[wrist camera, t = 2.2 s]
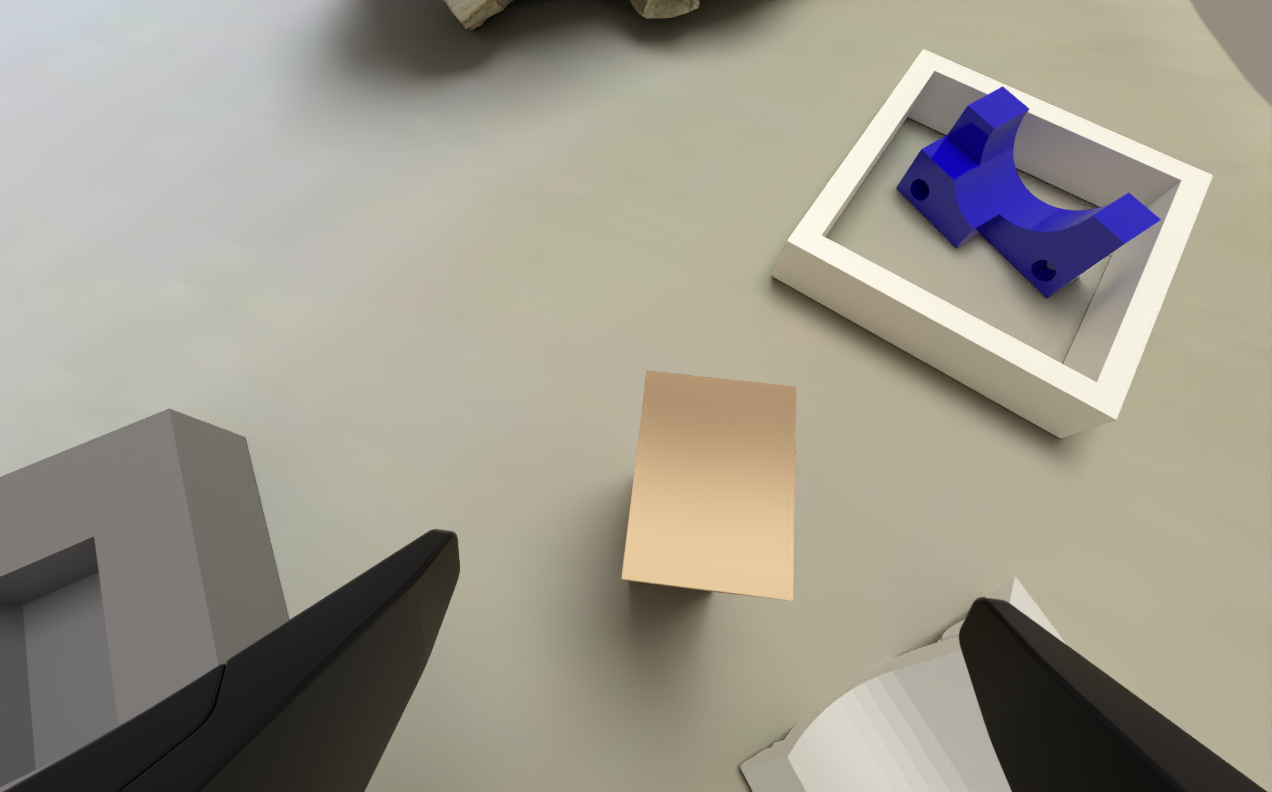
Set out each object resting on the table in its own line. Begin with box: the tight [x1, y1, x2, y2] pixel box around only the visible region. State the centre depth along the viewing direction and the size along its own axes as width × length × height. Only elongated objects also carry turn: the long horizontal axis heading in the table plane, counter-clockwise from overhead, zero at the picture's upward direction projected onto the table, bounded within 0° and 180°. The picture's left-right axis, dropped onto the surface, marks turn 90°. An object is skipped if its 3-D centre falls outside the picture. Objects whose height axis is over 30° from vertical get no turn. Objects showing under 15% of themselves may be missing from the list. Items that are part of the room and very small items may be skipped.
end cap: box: [0, 409, 289, 792], centre depth 16 cm, size 12×10×4 cm
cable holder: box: [897, 86, 1161, 298], centre depth 22 cm, size 8×4×4 cm, turn 32°
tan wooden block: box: [621, 370, 796, 601], centre depth 14 cm, size 4×3×10 cm
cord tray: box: [772, 49, 1213, 439], centre depth 22 cm, size 13×13×2 cm
